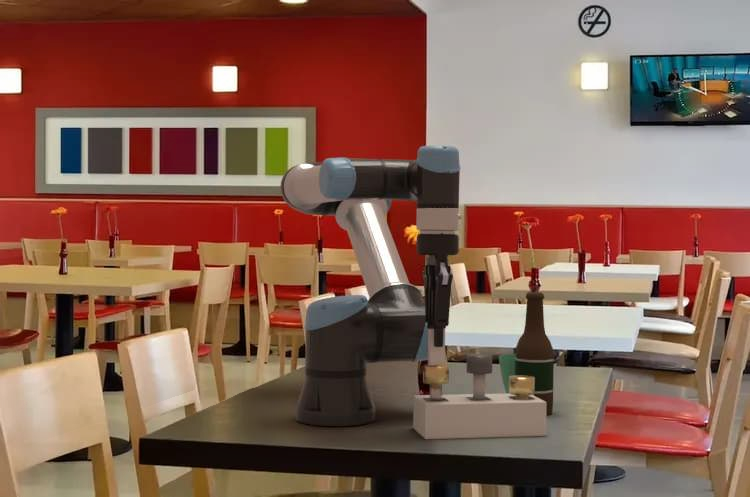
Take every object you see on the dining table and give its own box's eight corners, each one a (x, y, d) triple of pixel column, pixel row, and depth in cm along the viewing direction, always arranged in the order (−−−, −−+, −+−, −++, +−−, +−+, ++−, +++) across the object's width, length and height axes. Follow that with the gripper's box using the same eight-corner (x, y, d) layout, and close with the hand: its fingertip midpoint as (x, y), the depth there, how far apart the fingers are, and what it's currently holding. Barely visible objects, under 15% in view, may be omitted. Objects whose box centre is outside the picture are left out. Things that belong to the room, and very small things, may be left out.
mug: (538, 410, 217) (538, 361, 217) (491, 406, 221) (492, 358, 221) (558, 399, 230) (559, 353, 230) (514, 396, 235) (515, 350, 234)
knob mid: (470, 402, 192) (470, 357, 192) (463, 398, 197) (463, 354, 197) (494, 401, 193) (495, 357, 193) (487, 397, 198) (488, 353, 197)
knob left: (426, 412, 191) (426, 367, 191) (420, 408, 195) (420, 364, 195) (451, 412, 192) (451, 367, 192) (445, 407, 196) (445, 363, 196)
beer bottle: (527, 417, 210) (528, 294, 209) (506, 410, 217) (507, 291, 216) (561, 415, 213) (562, 293, 212) (539, 408, 220) (541, 290, 219)
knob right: (512, 423, 194) (513, 379, 194) (505, 418, 198) (505, 375, 198) (537, 422, 195) (538, 378, 194) (529, 418, 199) (530, 375, 199)
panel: (425, 439, 188) (425, 404, 188) (413, 427, 198) (413, 395, 198) (546, 435, 192) (546, 402, 192) (528, 425, 202) (528, 393, 202)
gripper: (467, 233, 187) (466, 369, 187) (449, 232, 200) (448, 359, 200) (425, 233, 186) (423, 370, 186) (409, 232, 198) (408, 360, 199)
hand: (436, 364), depth 193 cm, fingers closed
